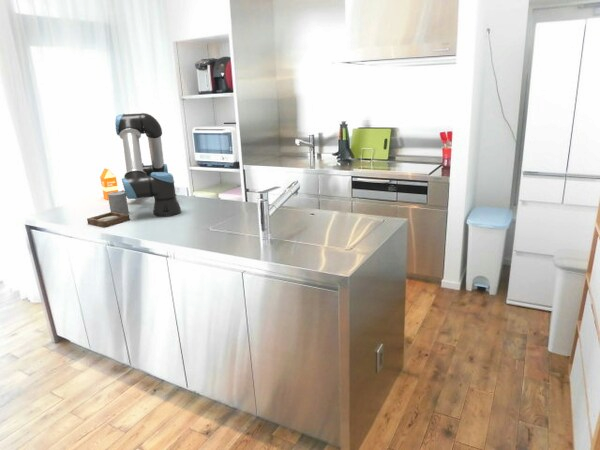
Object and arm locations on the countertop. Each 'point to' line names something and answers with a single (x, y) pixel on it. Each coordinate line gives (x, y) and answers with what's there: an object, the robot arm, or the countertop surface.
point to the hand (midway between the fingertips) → (124, 198)
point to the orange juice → (108, 183)
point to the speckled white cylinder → (118, 202)
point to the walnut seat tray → (108, 219)
